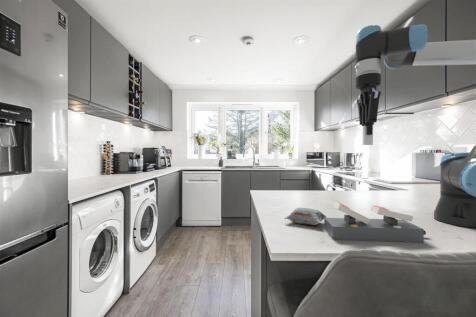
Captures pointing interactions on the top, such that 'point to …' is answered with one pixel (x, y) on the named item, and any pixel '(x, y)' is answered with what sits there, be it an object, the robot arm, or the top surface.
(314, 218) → the packaged food
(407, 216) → the rocker white
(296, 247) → the top surface
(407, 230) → the rocker switch box
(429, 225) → the top surface
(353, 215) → the white switch paddle
